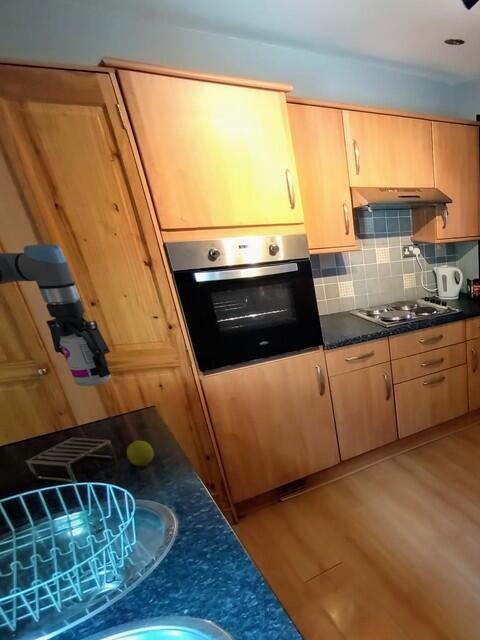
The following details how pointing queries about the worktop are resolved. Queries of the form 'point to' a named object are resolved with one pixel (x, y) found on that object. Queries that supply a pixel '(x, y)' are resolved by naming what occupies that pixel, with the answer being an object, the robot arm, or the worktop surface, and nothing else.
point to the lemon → (140, 453)
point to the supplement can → (81, 361)
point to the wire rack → (78, 455)
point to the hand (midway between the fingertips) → (91, 374)
